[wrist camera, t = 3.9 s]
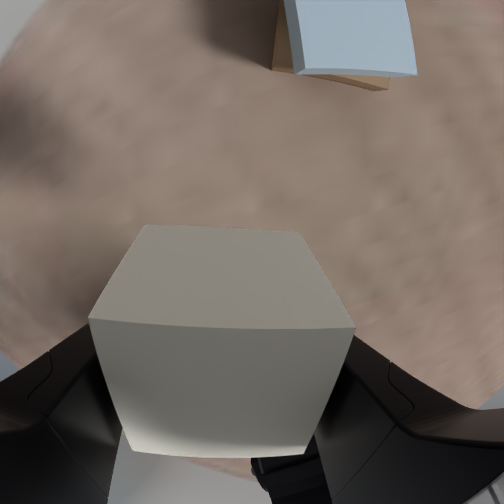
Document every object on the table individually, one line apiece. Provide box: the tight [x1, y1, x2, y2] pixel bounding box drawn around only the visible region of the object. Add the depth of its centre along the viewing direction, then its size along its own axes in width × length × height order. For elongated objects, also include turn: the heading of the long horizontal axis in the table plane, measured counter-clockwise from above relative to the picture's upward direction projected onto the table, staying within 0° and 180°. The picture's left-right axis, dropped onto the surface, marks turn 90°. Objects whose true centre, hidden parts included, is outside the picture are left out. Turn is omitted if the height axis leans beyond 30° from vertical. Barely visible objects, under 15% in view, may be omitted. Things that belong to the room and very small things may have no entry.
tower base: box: [271, 0, 390, 91], centre depth 15 cm, size 7×7×2 cm
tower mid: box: [284, 0, 417, 78], centre depth 12 cm, size 6×6×2 cm
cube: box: [88, 224, 356, 458], centre depth 8 cm, size 4×4×4 cm
